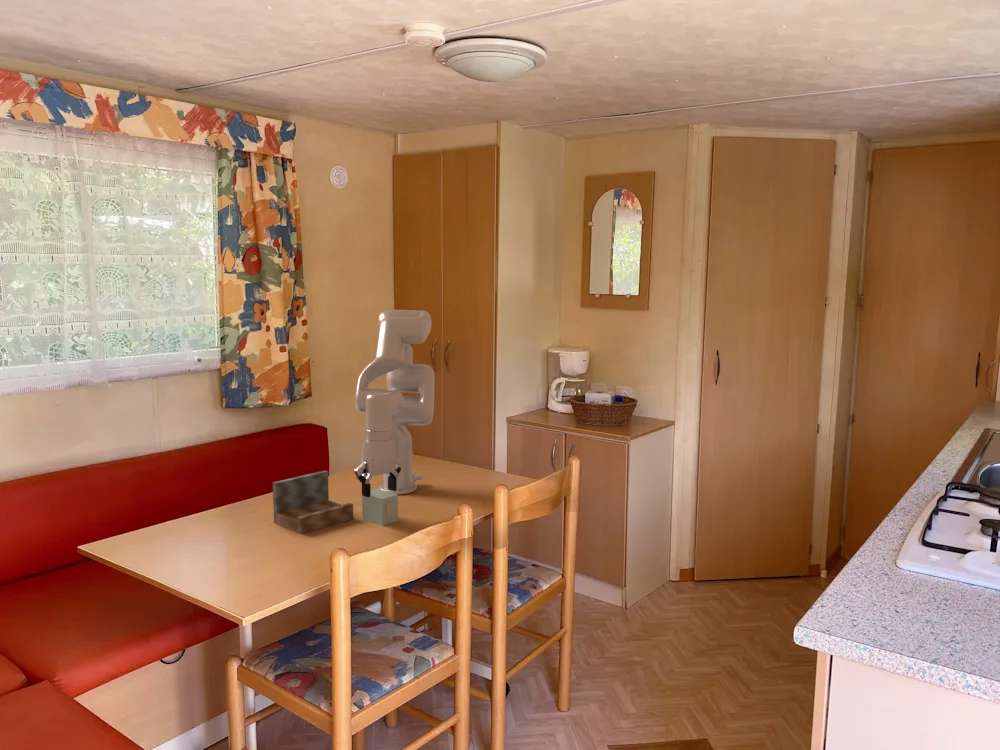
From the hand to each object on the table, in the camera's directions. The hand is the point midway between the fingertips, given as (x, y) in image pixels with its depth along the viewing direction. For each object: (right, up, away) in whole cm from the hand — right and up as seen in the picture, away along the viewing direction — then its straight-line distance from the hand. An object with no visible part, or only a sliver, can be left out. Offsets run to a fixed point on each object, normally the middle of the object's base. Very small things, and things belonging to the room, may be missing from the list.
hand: (379, 493), depth 227 cm
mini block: (0, -8, +2) cm, 8 cm away
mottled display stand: (-19, -8, 0) cm, 21 cm away
